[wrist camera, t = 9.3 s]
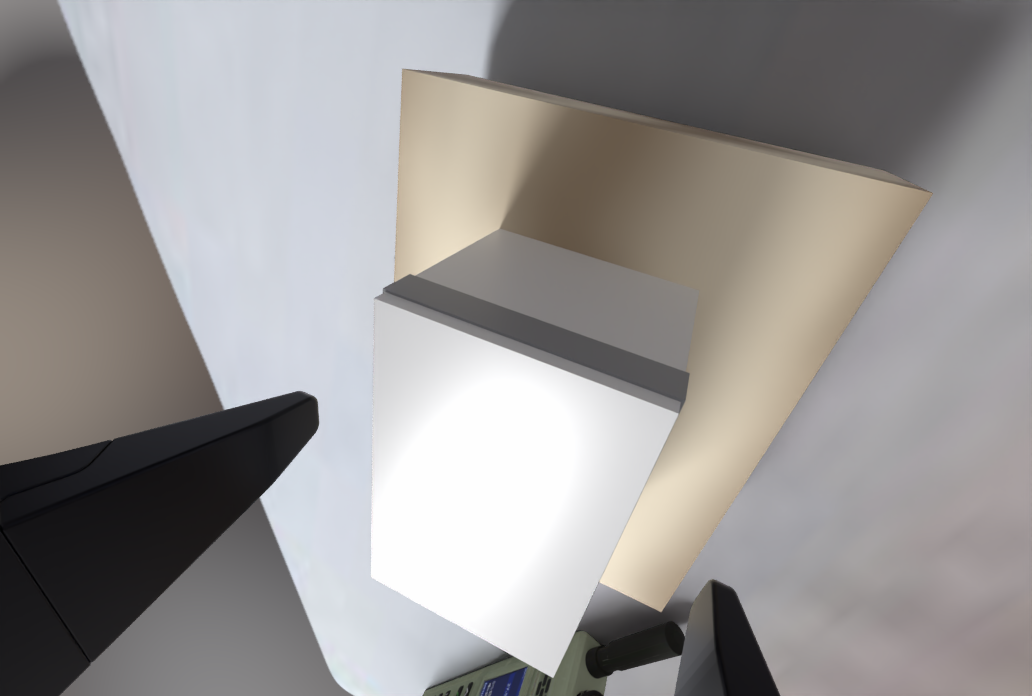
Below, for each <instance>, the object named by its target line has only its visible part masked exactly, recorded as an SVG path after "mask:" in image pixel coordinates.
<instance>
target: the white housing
mask: <svg viewBox="0 0 1032 696" xmlns="http://www.w3.org/2000/svg"><path fill="white" fill-rule="evenodd" d="M698 296H699V290H696V289H693V288H690V287H687V286H683V285H680V284H677V283H674V282H670V281H667V280H664V279H661V278H658V277H654V276H651V275H648V274H645V273H641V272H638V271H635V270H632V269H629V268H625V267H622V266H619V265H616V264H612V263H609V262H606V261H603V260H600V259H596V258H593V257H590V256H587V255H583V254H580V253H577V252H574V251H571V250H567V249H564V248H561V247H558V246H554V245H551V244H548V243H545V242H542V241H538V240H535V239H532V238H529V237H525V236H522V235H519V234H516V233H513V232H509V231H506V230H503V229H498V230H496V231H494V232H492V233H491V234H489V235H487V236H485V237H483V238H482V239H480V240H478V241H476V242H474V243H473V244H471V245H469V246H467V247H465V248H464V249H462V250H460V251H458V252H457V253H455V254H453V255H451V256H449V257H448V258H446V259H444V260H442V261H440V262H439V263H437V264H435V265H433V266H431V267H430V268H428V269H426V270H424V271H422V272H421V273H419V274H417V275H415V276H414V275H412V274H409V275H407V276H405V277H403V278H401V279H400V280H398V281H396V282H394V283H392V284H390V285H389V286H387V287H385V288H383V294H381V295H379V296H377V297H376V298H374V348H373V439H372V530H371V578H373V579H375V580H377V581H379V582H380V583H382V584H384V585H386V586H388V587H390V588H391V589H393V590H395V591H397V592H399V593H400V594H402V595H404V596H406V597H408V598H409V599H411V600H413V601H415V602H417V603H418V604H420V605H422V606H424V607H426V608H427V609H429V610H431V611H433V612H435V613H436V614H438V615H440V616H442V617H444V618H446V619H447V620H449V621H451V622H453V623H455V624H456V625H458V626H460V627H462V628H464V629H465V630H467V631H469V632H471V633H473V634H474V635H476V636H478V637H480V638H482V639H483V640H485V641H487V642H489V643H491V644H492V645H494V646H496V647H498V648H500V649H501V650H503V651H505V652H507V653H509V654H511V655H512V656H514V657H516V658H518V659H520V660H521V661H523V662H525V663H527V664H529V665H530V666H532V667H534V668H536V669H538V670H539V671H541V672H543V673H545V674H547V675H548V676H550V677H552V678H553V677H554V675H555V673H556V671H557V669H558V667H559V665H560V663H561V661H562V659H563V657H564V655H565V653H566V651H567V649H568V646H569V644H570V642H571V640H572V638H573V636H574V634H575V632H576V630H577V628H578V625H579V623H580V621H581V619H582V617H583V615H584V613H585V611H586V609H587V607H588V604H589V602H590V600H591V598H592V596H593V594H594V592H595V590H596V588H597V586H598V583H599V581H600V579H601V577H602V575H603V573H604V571H605V569H606V567H607V565H608V562H609V560H610V558H611V556H612V554H613V552H614V550H615V548H616V546H617V544H618V541H619V539H620V537H621V535H622V533H623V531H624V529H625V527H626V525H627V523H628V520H629V518H630V516H631V514H632V512H633V510H634V508H635V506H636V504H637V502H638V499H639V497H640V495H641V493H642V491H643V489H644V487H645V485H646V483H647V481H648V478H649V476H650V474H651V472H652V470H653V468H654V466H655V464H656V462H657V460H658V457H659V455H660V453H661V451H662V449H663V447H664V445H665V443H666V441H667V439H668V436H669V434H670V432H671V430H672V428H673V426H674V424H675V422H676V420H677V418H678V415H679V413H680V411H681V409H682V407H683V405H684V403H685V401H686V395H687V388H688V381H689V375H690V373H688V372H686V368H687V362H688V356H689V350H690V344H691V338H692V332H693V326H694V320H695V314H696V308H697V302H698Z"/></svg>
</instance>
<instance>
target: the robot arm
mask: <svg viewBox="0 0 1032 696" xmlns="http://www.w3.org/2000/svg"><path fill="white" fill-rule="evenodd" d="M318 426H319V413H318V401H317V399H316V397H314V396H312V395H310V394H308V393H306V392H303V391H297V392H293V393H289V394H285V395H281V396H277V397H273V398H270V399H266V400H262V401H258V402H254V403H250V404H246V405H243V406H239V407H235V408H231V409H227V410H223V411H220V412H216V413H212V414H208V415H205V416H200V417H196V418H193V419H189V420H185V421H181V422H177V423H173V424H169V425H166V426H162V427H158V428H154V429H150V430H147V431H143V432H139V433H135V434H131V435H127V436H124V437H119V438H116V439H114V440H113V441H111V440H107V441H104V442H100V443H97V444H92V445H89V446H84V447H80V448H76V449H72V450H68V451H64V452H60V453H56V454H51V455H47V456H42V457H38V458H33V459H29V460H24V461H19V462H15V463H10V464H5V465H0V696H59V695H61V694H62V693H63V692H64V691H65V690H66V689H67V688H68V687H69V686H70V685H71V684H72V683H73V682H74V681H75V680H76V679H77V678H78V677H79V676H80V675H81V674H82V673H83V672H84V671H85V670H86V669H87V668H88V667H89V666H90V664H91V662H93V661H95V660H96V658H97V657H98V656H100V655H101V654H102V653H103V652H104V651H105V649H107V648H108V647H109V646H110V645H111V644H112V643H113V642H114V641H115V640H116V639H117V638H118V637H119V636H120V635H121V634H122V633H123V632H124V631H125V630H126V629H127V628H128V627H129V626H130V625H131V624H132V623H133V622H134V621H135V620H136V619H137V618H138V617H139V616H140V615H141V614H142V613H143V612H144V611H145V610H146V609H147V608H148V607H149V606H150V605H151V604H152V603H153V602H154V601H155V600H156V599H157V598H158V597H159V596H160V595H161V594H162V593H163V592H164V591H165V590H166V589H167V588H168V587H169V586H170V585H171V584H172V583H173V582H174V581H175V580H176V579H177V578H178V577H179V576H180V575H181V574H182V573H183V572H184V571H185V570H186V569H188V568H189V567H190V566H191V564H193V563H194V562H195V561H196V560H197V559H198V558H199V557H200V556H201V555H202V554H203V553H204V552H205V551H206V550H207V549H208V548H209V547H210V546H211V545H212V544H213V543H214V542H215V541H216V540H217V539H218V538H219V537H220V536H221V535H222V534H223V533H224V532H225V531H226V530H227V529H228V528H229V527H230V526H231V525H232V524H233V523H234V522H235V521H236V520H237V519H238V518H239V517H240V516H241V515H242V514H243V513H244V512H245V511H246V510H247V509H248V508H249V507H250V506H251V505H252V504H253V503H254V502H255V501H256V500H257V499H258V498H259V497H260V496H261V495H262V494H263V493H264V492H265V491H266V490H267V489H268V488H269V487H270V486H271V485H272V484H273V483H274V482H275V481H276V479H277V478H278V477H279V476H280V475H281V474H282V472H283V471H284V470H285V469H286V468H287V466H288V465H289V464H290V463H291V462H292V460H293V459H294V458H295V457H296V456H297V454H298V453H299V452H300V451H301V450H302V448H303V447H304V446H305V445H306V444H307V442H308V441H309V440H310V439H311V438H312V436H313V435H314V434H315V433H316V431H317V429H318ZM674 696H780V694H779V692H778V689H777V687H776V685H775V682H774V680H773V678H772V675H771V673H770V671H769V668H768V666H767V664H766V661H765V659H764V657H763V654H762V652H761V650H760V647H759V645H758V643H757V640H756V638H755V636H754V633H753V631H752V629H751V626H750V624H749V622H748V619H747V617H746V615H745V612H744V610H743V608H742V605H741V603H740V601H739V598H738V596H737V594H736V592H735V591H734V589H733V588H731V587H730V586H727V585H725V584H723V583H721V582H719V581H717V580H714V579H712V580H709V581H708V582H707V584H706V585H705V586H704V588H703V589H702V591H701V592H700V594H699V595H698V596H697V598H696V599H695V601H694V602H693V604H692V607H691V610H690V614H689V619H688V625H687V630H686V635H685V641H684V646H683V651H682V657H681V662H680V667H679V673H678V678H677V683H676V689H675V695H674Z"/></svg>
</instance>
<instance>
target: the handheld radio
mask: <svg viewBox="0 0 1032 696" xmlns="http://www.w3.org/2000/svg"><path fill="white" fill-rule="evenodd" d="M684 641H685V636H684V634H683V632H682V630H681V629H680V627H679V626H678V625H677V624H676V623H674V622H667V623H664V624H661V625H658V626H656V627H653V628H650V629H647V630H644V631H641V632H638V633H635V634H632V635H630V636H627V637H624V638H621V639H618V640H615V641H612V642H611V643H610V644H609V645H608V646H604V645H600V644H599V643H598V642H597V641H596V640H594V639H593V638H592V637H591V636H590V635H589V634H588V633H586V632H584V631H578V632H575V634H574V636H573V638H572V640H571V642H570V644H569V646H568V649H567V651H566V653H565V655H564V657H563V659H562V661H561V663H560V665H559V667H558V669H557V671H556V673H555V675H554V677H553V678H552V677H550V676H548V675H547V674H545V673H543V672H541V671H539V670H538V669H536V668H534V667H532V666H530V665H529V664H527V663H525V662H523V661H521V660H520V659H518V658H516V657H514V656H513V657H510V658H508V659H505V660H503V661H500V662H498V663H495V664H492V665H490V666H487V667H485V668H482V669H480V670H477V671H474V672H472V673H469V674H467V675H464V676H462V677H459V678H456V679H454V680H451V681H449V682H446V683H444V684H441V685H438V686H436V687H433V688H431V689H428V690H426V691H425V692H424V694H423V696H604V692H605V686H606V681H607V676H609V675H611V674H612V673H613V672H614V671H617V670H620V671H623V670H627V669H630V668H634V667H638V666H642V665H646V664H649V663H653V662H657V661H661V660H665V659H668V658H672V657H676V656H680V655H682V651H683V646H684Z"/></svg>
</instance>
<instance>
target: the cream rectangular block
mask: <svg viewBox="0 0 1032 696" xmlns="http://www.w3.org/2000/svg"><path fill="white" fill-rule="evenodd" d="M932 194H933V193H932V192H929V191H927V190H925V189H923V188H921V187H919V186H917V185H914V184H912V183H910V182H908V181H906V180H904V179H902V178H899V177H897V176H895V175H893V174H891V173H889V172H886V171H884V170H880V169H876V168H871V167H867V166H863V165H858V164H854V163H850V162H845V161H841V160H836V159H832V158H828V157H823V156H819V155H815V154H810V153H806V152H802V151H797V150H793V149H788V148H784V147H780V146H775V145H771V144H767V143H762V142H758V141H754V140H749V139H745V138H740V137H736V136H732V135H727V134H723V133H719V132H714V131H710V130H706V129H701V128H697V127H692V126H688V125H684V124H679V123H675V122H671V121H666V120H662V119H658V118H653V117H649V116H644V115H640V114H636V113H631V112H627V111H623V110H618V109H614V108H609V107H605V106H601V105H596V104H592V103H588V102H583V101H579V100H575V99H570V98H566V97H561V96H557V95H553V94H548V93H544V92H540V91H535V90H531V89H527V88H522V87H518V86H513V85H509V84H505V83H500V82H496V81H492V80H487V79H483V78H479V77H474V76H470V75H464V74H453V73H442V72H431V71H421V70H410V69H402V90H401V116H400V142H399V168H398V194H397V220H396V246H395V272H394V282H396V281H398V280H400V279H401V278H403V277H405V276H407V275H409V274H412V275H414V276H415V275H417V274H419V273H421V272H422V271H424V270H426V269H428V268H430V267H431V266H433V265H435V264H437V263H439V262H440V261H442V260H444V259H446V258H448V257H449V256H451V255H453V254H455V253H457V252H458V251H460V250H462V249H464V248H465V247H467V246H469V245H471V244H473V243H474V242H476V241H478V240H480V239H482V238H483V237H485V236H487V235H489V234H491V233H492V232H494V231H496V230H498V229H503V230H506V231H509V232H513V233H516V234H519V235H522V236H525V237H529V238H532V239H535V240H538V241H542V242H545V243H548V244H551V245H554V246H558V247H561V248H564V249H567V250H571V251H574V252H577V253H580V254H583V255H587V256H590V257H593V258H596V259H600V260H603V261H606V262H609V263H612V264H616V265H619V266H622V267H625V268H629V269H632V270H635V271H638V272H641V273H645V274H648V275H651V276H654V277H658V278H661V279H664V280H667V281H670V282H674V283H677V284H680V285H683V286H687V287H690V288H693V289H696V290H699V296H698V302H697V308H696V314H695V320H694V326H693V332H692V338H691V344H690V350H689V356H688V362H687V368H686V372H688V373H690V375H689V381H688V388H687V395H686V401H685V403H684V405H683V407H682V409H681V411H680V413H679V415H678V418H677V420H676V422H675V424H674V426H673V428H672V430H671V432H670V434H669V436H668V439H667V441H666V443H665V445H664V447H663V449H662V451H661V453H660V455H659V457H658V460H657V462H656V464H655V466H654V468H653V470H652V472H651V474H650V476H649V478H648V481H647V483H646V485H645V487H644V489H643V491H642V493H641V495H640V497H639V499H638V502H637V504H636V506H635V508H634V510H633V512H632V514H631V516H630V518H629V520H628V523H627V525H626V527H625V529H624V531H623V533H622V535H621V537H620V539H619V541H618V544H617V546H616V548H615V550H614V552H613V554H612V556H611V558H610V560H609V562H608V565H607V567H606V569H605V571H604V573H603V575H602V577H601V579H600V581H599V582H600V583H602V584H604V585H607V586H609V587H611V588H613V589H615V590H617V591H619V592H621V593H623V594H625V595H627V596H629V597H631V598H633V599H635V600H637V601H639V602H641V603H643V604H645V605H647V606H649V607H651V608H654V609H656V610H658V611H660V612H662V610H663V609H664V607H665V606H666V604H667V603H668V601H669V600H670V598H671V597H672V595H673V593H674V592H675V590H676V589H677V587H678V586H679V584H680V583H681V581H682V580H683V578H684V576H685V575H686V573H687V572H688V570H689V569H690V567H691V566H692V564H693V563H694V561H695V560H696V558H697V556H698V555H699V553H700V552H701V550H702V549H703V547H704V546H705V544H706V543H707V541H708V540H709V538H710V536H711V535H712V533H713V532H714V530H715V529H716V527H717V526H718V524H719V523H720V521H721V519H722V518H723V516H724V515H725V513H726V512H727V510H728V509H729V507H730V506H731V504H732V503H733V501H734V499H735V498H736V496H737V495H738V493H739V492H740V490H741V489H742V487H743V486H744V484H745V483H746V481H747V479H748V478H749V476H750V475H751V473H752V472H753V470H754V469H755V467H756V466H757V464H758V462H759V461H760V459H761V458H762V456H763V455H764V453H765V452H766V450H767V449H768V447H769V446H770V444H771V442H772V441H773V439H774V438H775V436H776V435H777V433H778V432H779V430H780V429H781V427H782V426H783V424H784V422H785V421H786V419H787V418H788V416H789V415H790V413H791V412H792V410H793V409H794V407H795V405H796V404H797V402H798V401H799V399H800V398H801V396H802V395H803V393H804V392H805V390H806V389H807V387H808V385H809V384H810V382H811V381H812V379H813V378H814V376H815V375H816V373H817V372H818V370H819V368H820V367H821V365H822V364H823V362H824V361H825V359H826V358H827V356H828V355H829V353H830V352H831V350H832V348H833V347H834V345H835V344H836V342H837V341H838V339H839V338H840V336H841V335H842V333H843V332H844V330H845V328H846V327H847V325H848V324H849V322H850V321H851V319H852V318H853V316H854V315H855V313H856V311H857V310H858V308H859V307H860V305H861V304H862V302H863V301H864V299H865V298H866V296H867V295H868V293H869V291H870V290H871V288H872V287H873V285H874V284H875V282H876V281H877V279H878V278H879V276H880V275H881V273H882V271H883V270H884V268H885V267H886V265H887V264H888V262H889V261H890V259H891V258H892V256H893V254H894V253H895V251H896V250H897V248H898V247H899V245H900V244H901V242H902V241H903V239H904V238H905V236H906V234H907V233H908V231H909V230H910V228H911V227H912V225H913V224H914V222H915V221H916V219H917V218H918V216H919V214H920V213H921V211H922V210H923V208H924V207H925V205H926V204H927V202H928V201H929V199H930V197H931V196H932Z"/></svg>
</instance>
